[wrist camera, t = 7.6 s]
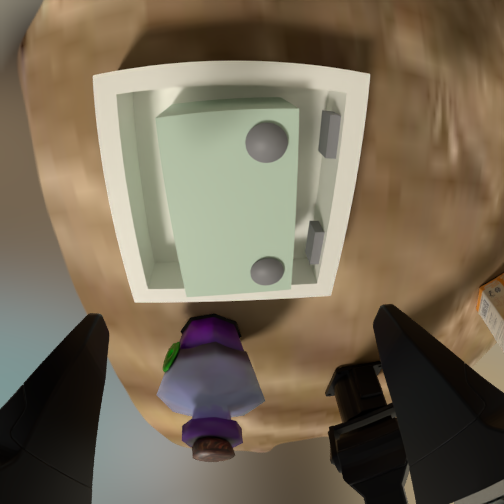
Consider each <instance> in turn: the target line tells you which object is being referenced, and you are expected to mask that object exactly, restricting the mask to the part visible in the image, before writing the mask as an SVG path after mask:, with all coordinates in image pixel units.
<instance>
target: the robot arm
mask: <svg viewBox="0 0 504 504" xmlns="http://www.w3.org/2000/svg"><path fill="white" fill-rule="evenodd" d="M373 329H374V333H375V338H376V342H377V347H378V352H379V357H380V361H381V362H375V363H370V364H364V365H358V366H352V367H345V368H339V369H337V370H335V372H334V374H333V377H332V379H331V381H330V383H329V385H328V388H327V390H326V392H325V395H326V396H334V395H335V397H336V401H337V405H338V408H339V412H340V416H341V419H342V423H341V424H338V425H335V426H330V427H329V432H328V435H329V439H330V461H331V463H332V464H334V465H335V466H336V468H337V470H338V471H339V472H340V473H342V475H343V479H344V481H345V482H347V483H348V484H349V485H350V486H351V487H352V488H353V489H355V490H356V491H357V492H358V493H359V494H360V495H361V496H362V497H364V501H365V504H408V501H407V497H406V493H405V489H404V486H405V483H406V480H407V477H408V474H409V470H410V474H411V479H412V484H413V489H414V494H415V500H416V504H450V503H453V502H454V504H504V393H503V392H502V391H500V390H499V389H498V388H496V387H495V386H494V385H492V384H491V383H490V382H488V381H487V380H486V379H484V378H483V377H482V376H480V375H479V374H478V373H477V372H475V371H474V370H473V369H472V368H471V367H470V366H468V365H467V364H466V363H464V361H462V360H461V359H460V358H459V357H458V356H456V355H455V354H454V353H453V352H452V351H450V350H449V349H448V348H447V347H446V346H444V345H443V344H442V343H441V342H439V341H438V340H437V339H436V338H435V337H433V336H432V335H431V334H430V333H428V332H427V331H426V330H425V329H423V328H422V327H421V326H420V325H418V324H417V323H416V322H415V321H413V320H412V319H411V318H410V317H408V316H407V315H406V314H405V313H403V312H402V311H401V310H400V309H398V308H397V307H396V306H394V305H393V304H385V305H382V306H380V308H379V310H378V313H377V315H376V317H375V319H374V322H373ZM108 344H109V331H108V328H107V326H106V323H105V321H104V319H103V316H102V315H101V314H98V313H90V314H88V315H87V316H86V317H85V318H84V319H83V320H82V321H81V322H80V323H79V324H78V325H77V326H76V327H75V328H74V329H73V330H72V331H71V332H70V333H69V334H68V335H67V336H66V338H64V340H63V341H62V342H61V343H60V344H59V345H58V346H57V347H56V348H55V349H54V350H53V351H52V352H51V354H50V355H49V356H48V357H47V358H46V359H45V360H44V361H43V362H42V363H41V364H40V365H39V366H38V368H37V369H36V370H35V371H34V372H33V373H32V374H31V375H30V377H29V378H28V379H27V380H26V381H25V382H24V385H22V386H21V387H20V388H19V389H18V390H17V392H16V393H15V394H14V395H13V396H12V397H11V398H10V399H9V400H8V402H7V403H6V404H5V405H4V406H3V407H2V408H1V409H0V504H91V503H92V502H91V501H92V480H93V467H94V456H95V447H96V437H97V430H98V422H99V415H100V409H101V402H102V396H103V390H104V385H105V378H106V366H107V355H108ZM381 369H383V373H384V376H385V379H386V382H387V386H388V389H389V392H390V396H391V399H392V403H390V404H388V405H387V403H386V400H385V397H384V395H383V391H382V388H381V385H380V383H379V380H378V377H377V375H378V374H379V372H380V371H381ZM395 417H397V418H395Z"/></svg>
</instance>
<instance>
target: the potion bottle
mask: <svg viewBox="0 0 504 504" xmlns="http://www.w3.org/2000/svg"><path fill="white" fill-rule="evenodd" d="M181 333H182V336H181V339H180V342H177V343H174V344H173V345H172V346H171V348H169V351H168V352H167V354H166V357H165V360H164V364H163V371H164V372H165V374H164V376H163V379H162V382H161V384H160V387H159V390H158V393H157V396H158V397H159V398H160V399H161V400H162V401H163V402H164V403H165V404H166V405H167V406H168V407H169V408H170V409H171V410H172V411H173V412H176V413H180V414H184V415H188V416H193V417H192V419H191V420H190V421H188V422H187V423H186V424H184V425H183V426H182V441H183V442H184V443H186V444H187V445H188V446H190V447H192V451H193V458H194V459H196V460H199V461H205V462H218V461H225V460H228V459H231V458H233V457H234V456H235V453H234V450H233V447H235V446H237V445H239V444H241V443H243V441H242V429H241V427H240V426H239V424H238V423H237V422H236V421H234V420H231V417H237V416H244V415H245V414H247V413H248V412H250V411H251V410H253V409H254V408H256V407H257V406H259V405H260V404H262V403H263V402H264V401H265V399H264V396H263V394H262V391H261V388H260V386H259V383H258V380H257V378H256V375H255V372H254V370H253V367H252V365H251V362H250V360H249V357H248V354H247V352H246V351H244V349H243V347H242V344H241V341H240V337H241V334H240V331H239V329H238V326H237V323H236V322H235V321H233V320H230V319H227V318H225V317H222V316H219V315H217V314H209V315H204V316H198V317H193V318H190V319H189V321H188V322H187V323H186V325H185V326H184V328H183V329H182V330H181Z"/></svg>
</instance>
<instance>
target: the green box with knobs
mask: <svg viewBox="0 0 504 504" xmlns="http://www.w3.org/2000/svg"><path fill="white" fill-rule="evenodd" d="M155 120H156V128H157V136H158V143H159V151H160V158H161V165H162V171H163V178H164V184H165V190H166V196H167V202H168V208H169V213H170V219H171V224H172V230H173V235H174V240H175V245H176V250H177V255H178V260H179V265H180V269H181V274H182V279H183V283H184V288H185V292H186V296H187V297H198V296H214V295H228V294H242V293H255V292H267V291H279V290H290V289H291V282H292V268H293V253H294V237H295V218H296V198H297V174H298V142H299V108H297V107H296V106H294V105H293V104H291V103H289V102H288V101H286V100H284V99H283V98H281V97H257V98H233V99H218V100H206V101H195V102H186V103H178V104H172V105H171V106H169V107H168V108H167V109H166V110H164V111H163V112H162V113H161V114H160V115H158V116H157V117H156V118H155Z"/></svg>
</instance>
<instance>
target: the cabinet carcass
mask: <svg viewBox="0 0 504 504" xmlns="http://www.w3.org/2000/svg"><path fill="white" fill-rule="evenodd" d="M369 83H370V74H368V73H362V72H357V71H351V70H345V69H339V68H332V67H325V66H317V65H308V64H297V63H285V62H269V61H201V62H184V63H172V64H162V65H153V66H145V67H138V68H131V69H125V70H119V71H113V72H108V73H103V74H98V75H93V88H94V101H95V112H96V121H97V130H98V138H99V145H100V152H101V159H102V165H103V172H104V177H105V183H106V188H107V194H108V199H109V204H110V209H111V213H112V218H113V223H114V227H115V231H116V236H117V240H118V244H119V248H120V252H121V256H122V260H123V263H124V267H125V271H126V274H127V278H128V281H129V285H130V288H131V292H132V295H133V298H134V301H135V302H214V301H244V300H268V299H287V298H304V297H319V296H331V293H332V289H333V285H334V281H335V277H336V273H337V269H338V265H339V261H340V256H341V252H342V248H343V243H344V239H345V234H346V229H347V225H348V220H349V215H350V210H351V205H352V200H353V194H354V189H355V183H356V178H357V172H358V166H359V160H360V154H361V147H362V140H363V133H364V126H365V118H366V110H367V102H368V93H369ZM257 97H281V98H283V99H284V100H286V101H288V102H289V103H291V104H293V105H294V106H296V107H297V108H299V142H298V174H297V198H296V218H295V237H294V253H293V268H292V282H291V289H290V290H279V291H267V292H255V293H242V294H228V295H214V296H198V297H187V296H186V292H185V288H184V283H183V279H182V274H181V269H180V265H179V260H178V255H177V250H176V245H175V240H174V235H173V230H172V224H171V219H170V213H169V208H168V202H167V196H166V190H165V184H164V178H163V171H162V165H161V158H160V151H159V143H158V136H157V128H156V120H155V118H156V117H157V116H158V115H160V114H161V113H162V112H163V111H164V110H166V109H167V108H168V107H169V106H171V105H172V104H178V103H186V102H195V101H206V100H218V99H233V98H257Z"/></svg>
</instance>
